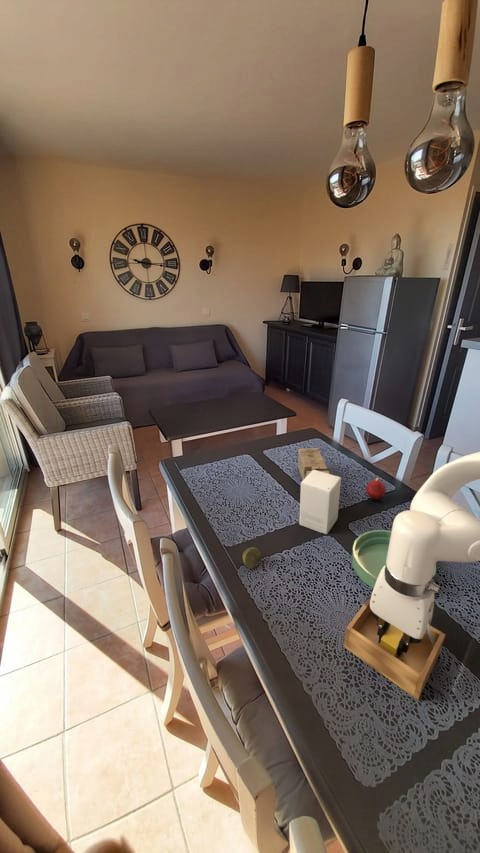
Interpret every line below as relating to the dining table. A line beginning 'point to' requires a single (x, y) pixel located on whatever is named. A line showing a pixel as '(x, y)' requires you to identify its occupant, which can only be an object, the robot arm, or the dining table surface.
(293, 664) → the dining table surface
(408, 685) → the holder
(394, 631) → the yellow small block
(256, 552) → the lime
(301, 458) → the block tower
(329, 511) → the white product box
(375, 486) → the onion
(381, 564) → the bowl
